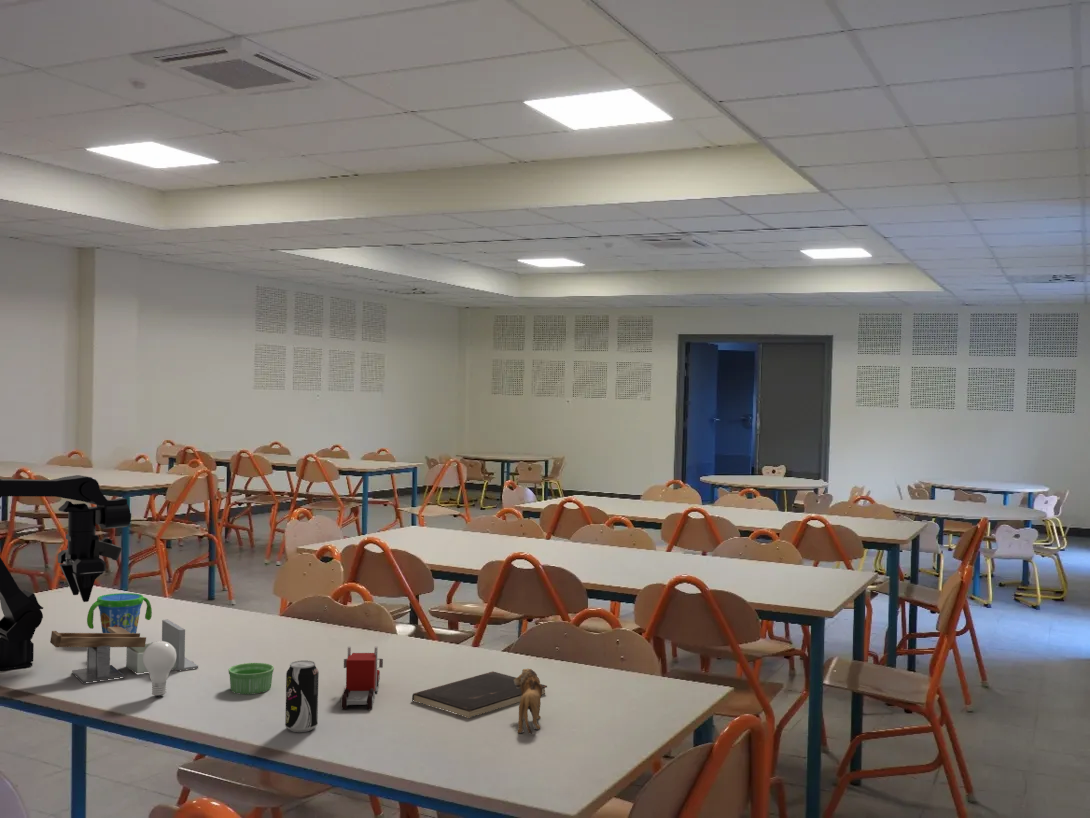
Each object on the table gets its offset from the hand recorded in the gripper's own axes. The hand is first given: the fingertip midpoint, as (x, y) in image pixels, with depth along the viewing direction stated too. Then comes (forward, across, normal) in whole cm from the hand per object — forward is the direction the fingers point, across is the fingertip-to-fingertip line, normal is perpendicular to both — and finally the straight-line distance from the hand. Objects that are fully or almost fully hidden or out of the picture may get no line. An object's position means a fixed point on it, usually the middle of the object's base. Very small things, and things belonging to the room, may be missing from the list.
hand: (80, 598), depth 231 cm
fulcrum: (+13, -20, +1) cm, 24 cm away
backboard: (+13, -20, -16) cm, 29 cm away
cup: (+13, -20, -10) cm, 26 cm away
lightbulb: (+13, -42, -5) cm, 44 cm away
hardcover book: (+14, -78, -58) cm, 98 cm away
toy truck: (+14, -64, -38) cm, 76 cm away
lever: (+7, -14, +1) cm, 15 cm away
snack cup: (+13, +12, -12) cm, 22 cm away
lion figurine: (+13, -96, -56) cm, 112 cm away
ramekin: (+13, -47, -22) cm, 54 cm away
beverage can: (+13, -76, -20) cm, 80 cm away
